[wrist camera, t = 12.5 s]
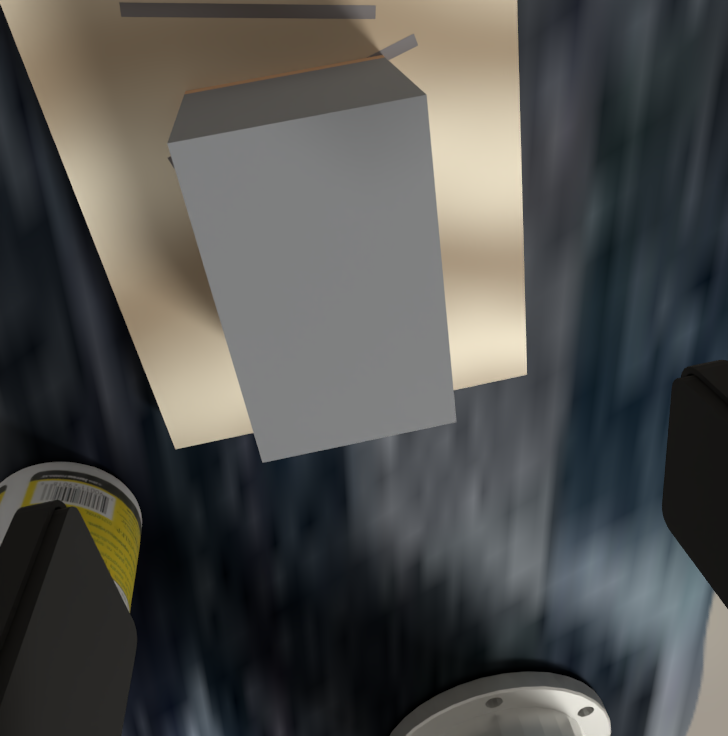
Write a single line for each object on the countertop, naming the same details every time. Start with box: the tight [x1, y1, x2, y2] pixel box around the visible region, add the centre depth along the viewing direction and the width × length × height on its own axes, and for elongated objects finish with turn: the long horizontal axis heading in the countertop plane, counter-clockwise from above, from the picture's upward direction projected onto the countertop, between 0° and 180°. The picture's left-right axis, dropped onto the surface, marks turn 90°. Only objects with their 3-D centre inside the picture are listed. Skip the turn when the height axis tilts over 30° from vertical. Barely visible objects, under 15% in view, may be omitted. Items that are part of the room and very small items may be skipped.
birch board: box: [0, 0, 527, 449], centre depth 18 cm, size 22×12×2 cm, turn 8°
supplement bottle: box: [0, 462, 142, 613], centre depth 22 cm, size 5×5×10 cm
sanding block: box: [167, 55, 456, 463], centre depth 17 cm, size 8×5×5 cm, turn 8°
